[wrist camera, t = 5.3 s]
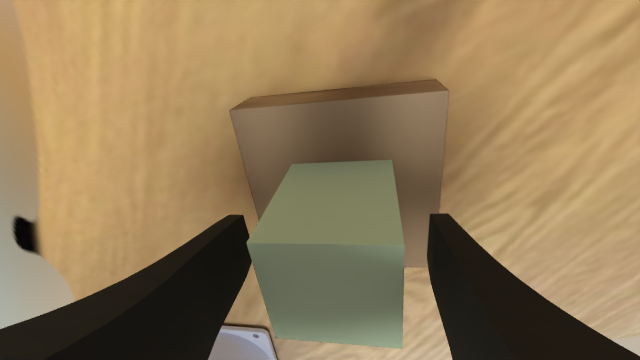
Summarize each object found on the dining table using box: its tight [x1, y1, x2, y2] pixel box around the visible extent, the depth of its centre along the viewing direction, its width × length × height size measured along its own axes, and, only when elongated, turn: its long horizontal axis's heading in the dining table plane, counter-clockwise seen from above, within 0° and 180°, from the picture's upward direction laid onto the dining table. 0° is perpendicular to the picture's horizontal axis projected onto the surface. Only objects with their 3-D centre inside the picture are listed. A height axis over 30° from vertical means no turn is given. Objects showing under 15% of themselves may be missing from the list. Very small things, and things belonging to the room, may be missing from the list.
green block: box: [246, 160, 405, 349], centre depth 11 cm, size 4×4×6 cm
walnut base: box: [229, 79, 449, 268], centre depth 15 cm, size 9×9×3 cm
